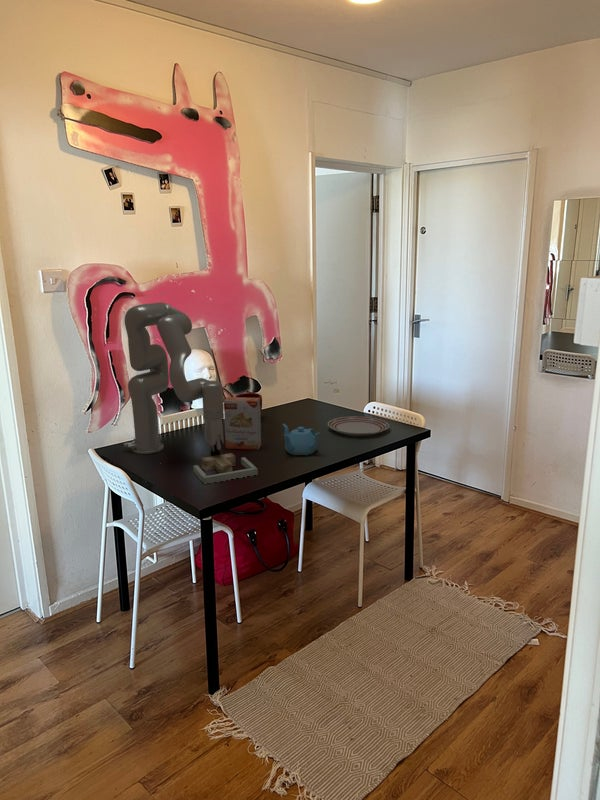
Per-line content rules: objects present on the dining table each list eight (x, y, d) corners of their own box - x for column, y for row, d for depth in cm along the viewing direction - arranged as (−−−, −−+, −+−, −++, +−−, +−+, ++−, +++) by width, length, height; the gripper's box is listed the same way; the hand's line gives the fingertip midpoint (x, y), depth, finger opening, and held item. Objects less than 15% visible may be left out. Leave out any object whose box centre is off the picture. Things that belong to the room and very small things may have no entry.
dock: (204, 484, 211) (203, 478, 211) (193, 472, 223) (193, 465, 223) (257, 475, 219) (257, 468, 219) (244, 463, 231) (244, 457, 231)
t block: (211, 478, 217) (210, 468, 216) (202, 467, 227) (201, 457, 226) (243, 472, 222) (242, 462, 221) (232, 462, 232) (231, 453, 231)
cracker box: (225, 449, 248) (222, 400, 243) (229, 444, 254) (226, 396, 248) (258, 450, 246) (257, 400, 241) (261, 445, 252) (260, 397, 246)
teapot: (318, 445, 251) (317, 421, 249) (321, 457, 237) (321, 432, 234) (282, 446, 250) (282, 422, 248) (283, 458, 236) (283, 433, 233)
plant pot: (236, 416, 295) (235, 392, 292) (263, 416, 295) (262, 392, 292) (233, 424, 283) (232, 399, 280) (261, 423, 282) (261, 399, 279)
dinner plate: (359, 418, 289) (359, 411, 289) (402, 431, 268) (402, 424, 267) (315, 429, 273) (315, 422, 272) (356, 444, 252) (356, 436, 251)
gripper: (198, 410, 232) (200, 455, 236) (209, 420, 219) (212, 468, 223) (216, 408, 235) (219, 453, 239) (229, 417, 222) (231, 464, 226)
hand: (215, 460), depth 231 cm, fingers closed
